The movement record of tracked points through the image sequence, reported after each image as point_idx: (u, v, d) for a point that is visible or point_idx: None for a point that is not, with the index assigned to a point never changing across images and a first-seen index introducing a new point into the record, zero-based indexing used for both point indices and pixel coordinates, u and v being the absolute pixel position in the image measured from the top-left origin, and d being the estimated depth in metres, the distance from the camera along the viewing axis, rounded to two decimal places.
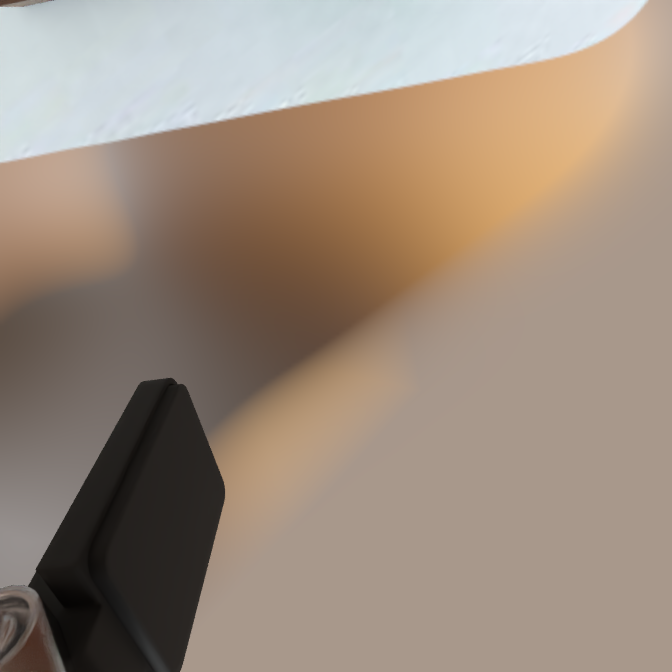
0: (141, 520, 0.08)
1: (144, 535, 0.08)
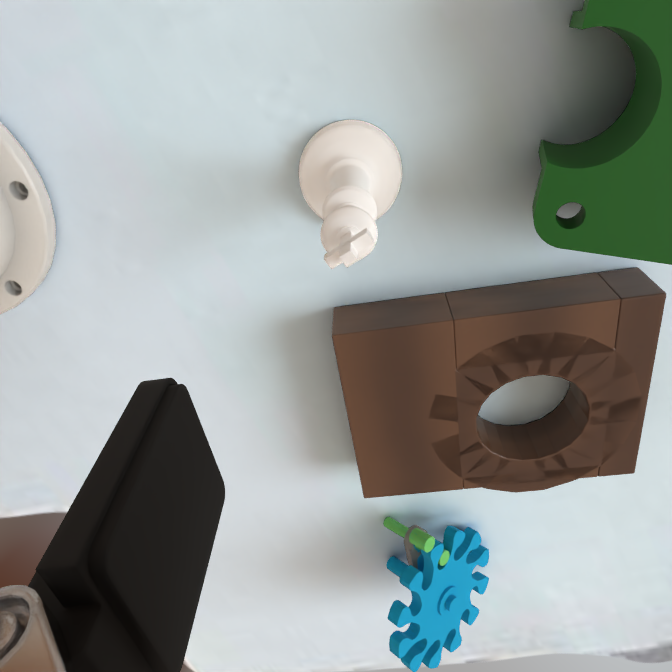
0: (141, 520, 0.08)
1: (144, 535, 0.08)
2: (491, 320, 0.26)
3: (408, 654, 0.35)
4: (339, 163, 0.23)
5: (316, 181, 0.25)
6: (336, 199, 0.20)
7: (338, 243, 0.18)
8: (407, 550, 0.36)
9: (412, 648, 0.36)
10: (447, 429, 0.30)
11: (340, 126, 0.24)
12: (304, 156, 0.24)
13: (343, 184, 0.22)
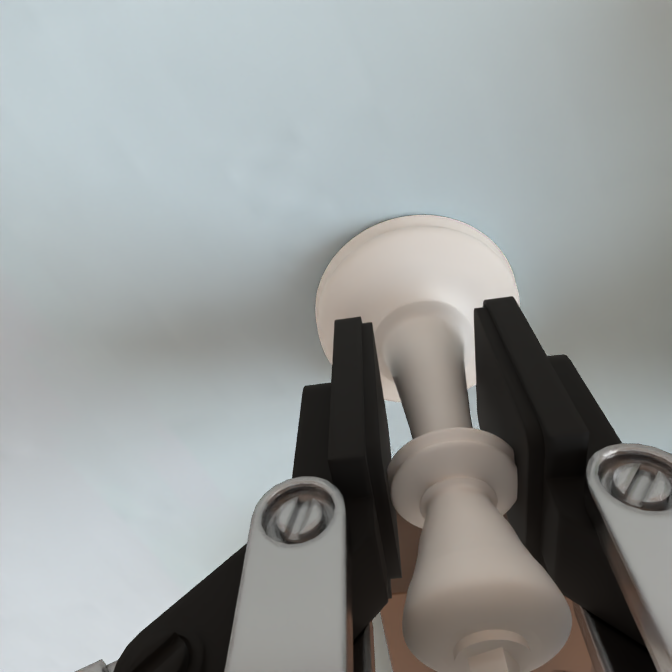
0: (381, 431, 0.08)
1: (383, 445, 0.08)
2: None
3: None
4: (403, 311, 0.11)
5: None
6: (426, 465, 0.08)
7: (459, 666, 0.06)
8: None
9: None
10: None
11: (404, 232, 0.11)
12: (328, 287, 0.12)
13: (423, 379, 0.10)
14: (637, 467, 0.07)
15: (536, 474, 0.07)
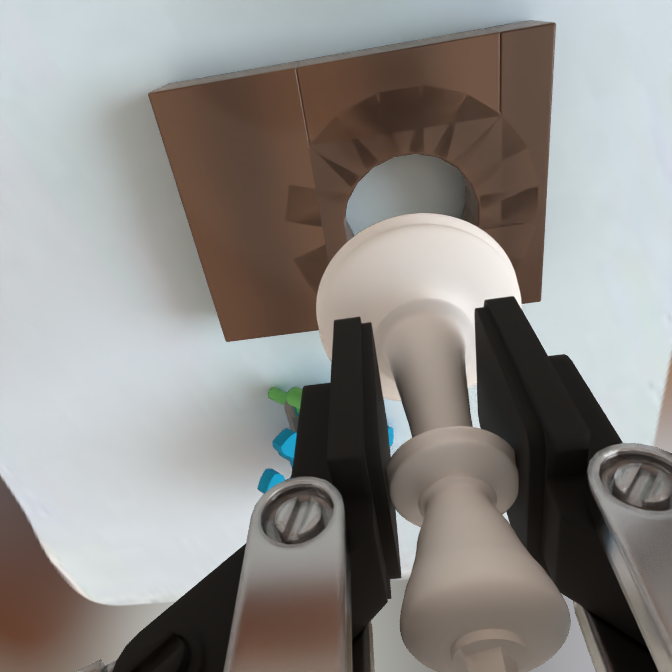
0: (380, 431, 0.08)
1: (382, 445, 0.08)
2: (342, 68, 0.21)
3: None
4: (404, 309, 0.11)
5: None
6: (426, 463, 0.08)
7: (457, 665, 0.06)
8: (289, 417, 0.31)
9: None
10: (310, 238, 0.25)
11: (405, 231, 0.11)
12: (329, 285, 0.12)
13: (423, 378, 0.10)
14: (638, 467, 0.07)
15: (537, 474, 0.07)
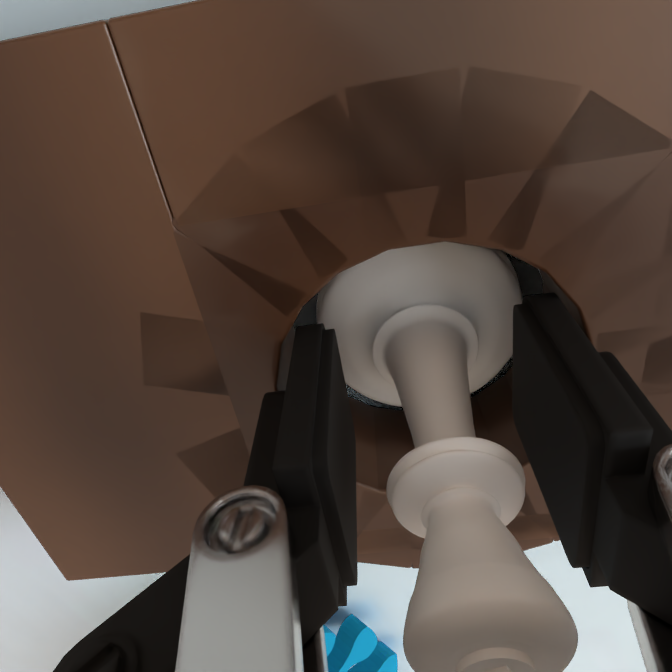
0: (333, 439, 0.08)
1: (336, 453, 0.08)
2: (238, 19, 0.07)
3: None
4: (405, 315, 0.11)
5: (353, 338, 0.12)
6: (428, 474, 0.08)
7: None
8: None
9: None
10: (206, 416, 0.11)
11: None
12: (329, 290, 0.12)
13: (425, 385, 0.10)
14: None
15: (594, 472, 0.07)
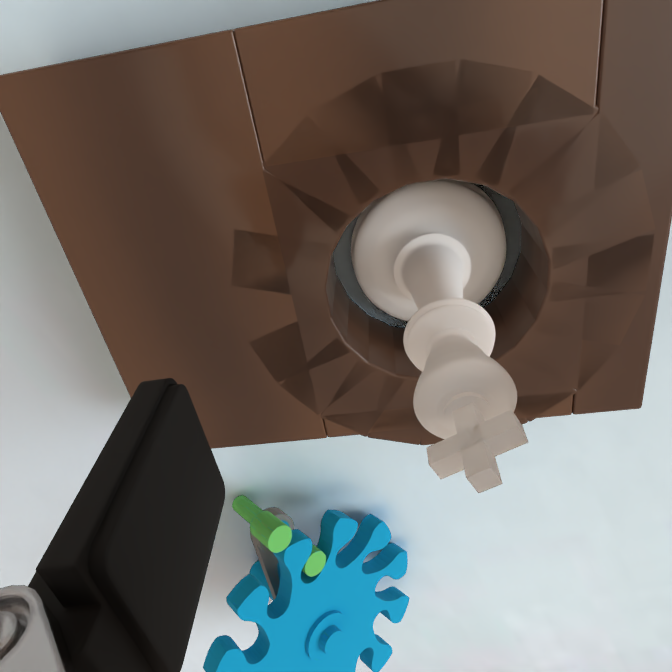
0: (141, 520, 0.08)
1: (144, 535, 0.08)
2: (315, 29, 0.12)
3: None
4: (418, 241, 0.15)
5: (379, 263, 0.16)
6: (431, 321, 0.12)
7: (447, 419, 0.10)
8: (257, 549, 0.21)
9: None
10: (274, 311, 0.15)
11: (419, 184, 0.15)
12: (362, 226, 0.16)
13: (431, 282, 0.14)
14: None
15: None
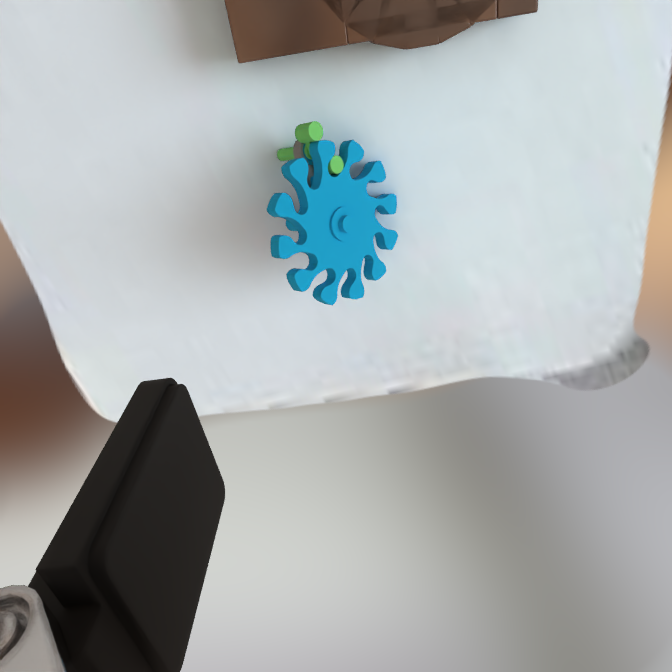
0: (141, 520, 0.08)
1: (144, 535, 0.08)
2: None
3: (294, 270, 0.31)
4: None
5: None
6: None
7: None
8: None
9: None
10: None
11: None
12: None
13: None
14: None
15: None
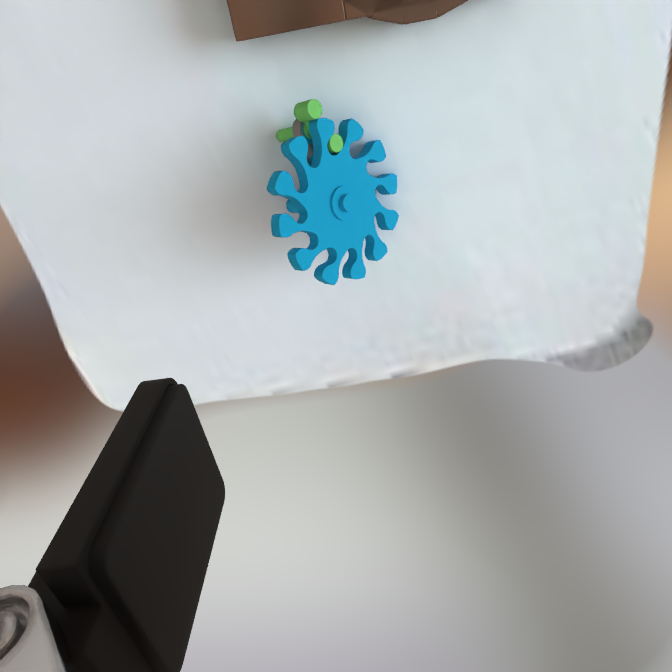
0: (141, 520, 0.08)
1: (144, 535, 0.08)
2: None
3: (295, 249, 0.31)
4: None
5: None
6: None
7: None
8: None
9: None
10: None
11: None
12: None
13: None
14: None
15: None
